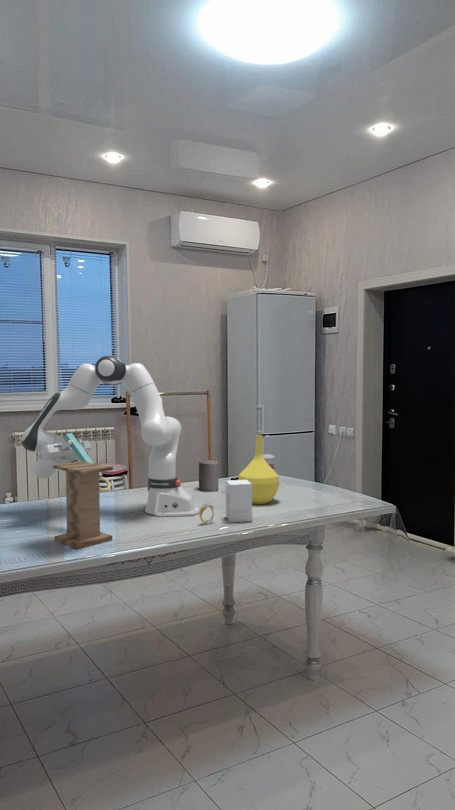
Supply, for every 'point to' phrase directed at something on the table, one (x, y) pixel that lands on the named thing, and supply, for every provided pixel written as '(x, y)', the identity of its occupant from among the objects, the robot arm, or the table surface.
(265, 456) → the french press
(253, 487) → the vase
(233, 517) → the supplement box
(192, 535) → the table surface
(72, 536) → the stand
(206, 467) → the pillar candle
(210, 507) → the ring
